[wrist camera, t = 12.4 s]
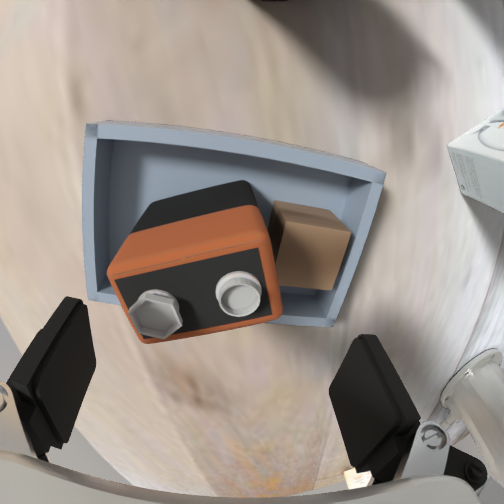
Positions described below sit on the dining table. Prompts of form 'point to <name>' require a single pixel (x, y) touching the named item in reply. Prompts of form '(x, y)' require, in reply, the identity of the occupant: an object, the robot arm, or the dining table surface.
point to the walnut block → (306, 245)
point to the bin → (211, 174)
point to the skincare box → (481, 161)
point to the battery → (197, 266)
